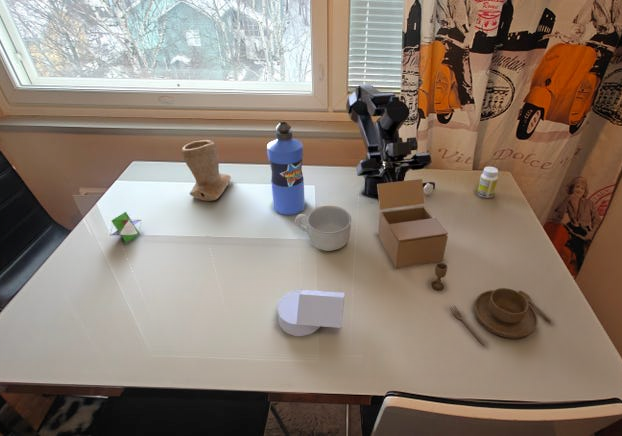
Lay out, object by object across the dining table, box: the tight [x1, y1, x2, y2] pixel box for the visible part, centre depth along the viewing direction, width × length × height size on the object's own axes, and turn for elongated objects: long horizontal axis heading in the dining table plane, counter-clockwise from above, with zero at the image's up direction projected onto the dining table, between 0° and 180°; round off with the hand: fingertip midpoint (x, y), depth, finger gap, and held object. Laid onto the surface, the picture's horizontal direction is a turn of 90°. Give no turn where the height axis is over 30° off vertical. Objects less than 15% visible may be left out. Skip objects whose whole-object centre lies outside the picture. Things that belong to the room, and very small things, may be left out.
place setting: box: [430, 262, 552, 346], centre depth 80 cm, size 18×20×6 cm
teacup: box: [294, 205, 352, 252], centre depth 96 cm, size 14×11×8 cm
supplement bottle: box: [476, 166, 499, 199], centre depth 116 cm, size 5×5×8 cm
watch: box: [422, 181, 436, 195], centre depth 118 cm, size 8×5×4 cm, turn 122°
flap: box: [377, 178, 426, 210], centre depth 97 cm, size 6×12×1 cm
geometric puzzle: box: [110, 211, 142, 244], centre depth 98 cm, size 7×7×8 cm
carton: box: [377, 205, 449, 269], centre depth 94 cm, size 13×12×8 cm
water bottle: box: [266, 121, 306, 216], centre depth 105 cm, size 9×9×25 cm
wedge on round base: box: [276, 289, 346, 337], centre depth 76 cm, size 9×7×13 cm
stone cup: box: [181, 139, 232, 202], centre depth 115 cm, size 15×12×15 cm
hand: (399, 196), depth 98 cm, fingers closed
